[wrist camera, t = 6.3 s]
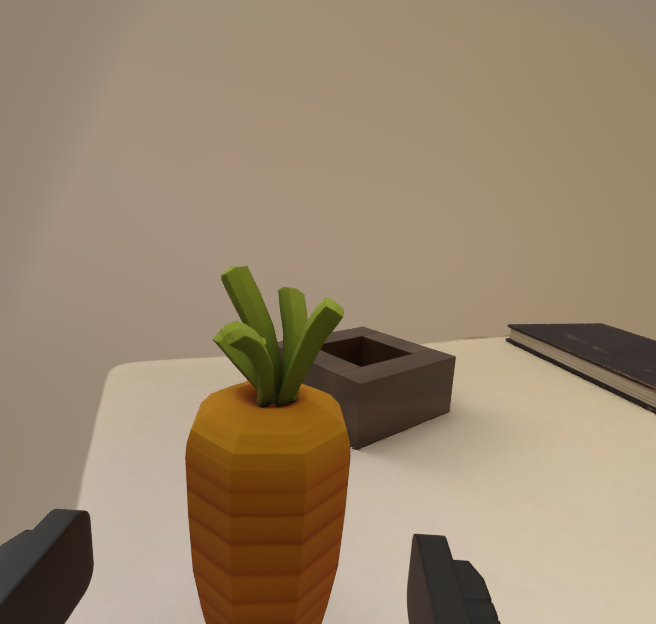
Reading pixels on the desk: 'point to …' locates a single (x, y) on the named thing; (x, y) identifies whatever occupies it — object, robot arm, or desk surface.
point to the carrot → (268, 469)
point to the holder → (381, 382)
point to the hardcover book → (596, 356)
